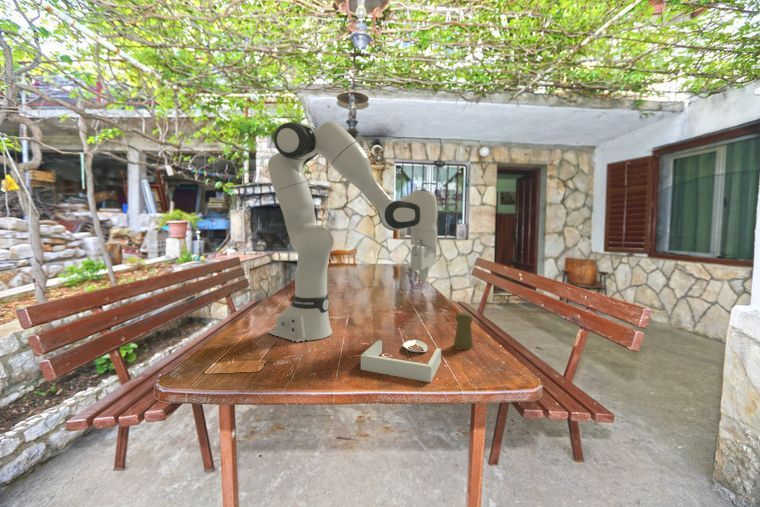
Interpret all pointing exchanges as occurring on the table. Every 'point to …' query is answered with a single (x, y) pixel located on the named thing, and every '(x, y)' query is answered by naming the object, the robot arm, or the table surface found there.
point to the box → (399, 364)
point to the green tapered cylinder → (463, 331)
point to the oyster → (417, 342)
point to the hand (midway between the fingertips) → (423, 280)
